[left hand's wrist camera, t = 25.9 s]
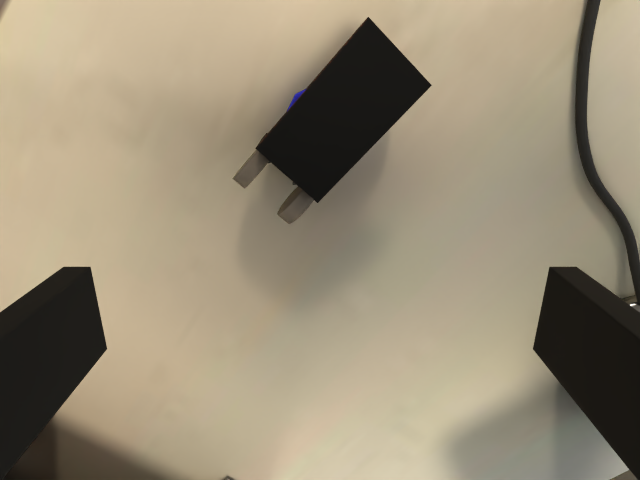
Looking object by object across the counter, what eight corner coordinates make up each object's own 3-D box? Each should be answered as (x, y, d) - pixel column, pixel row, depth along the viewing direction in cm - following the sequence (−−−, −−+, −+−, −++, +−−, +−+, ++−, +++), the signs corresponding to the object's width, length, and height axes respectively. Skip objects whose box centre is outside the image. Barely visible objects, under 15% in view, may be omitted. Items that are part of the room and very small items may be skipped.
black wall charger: (301, 206, 40) (421, 77, 34) (289, 241, 33) (438, 87, 27) (243, 158, 38) (360, 15, 33) (219, 184, 31) (361, 9, 26)
